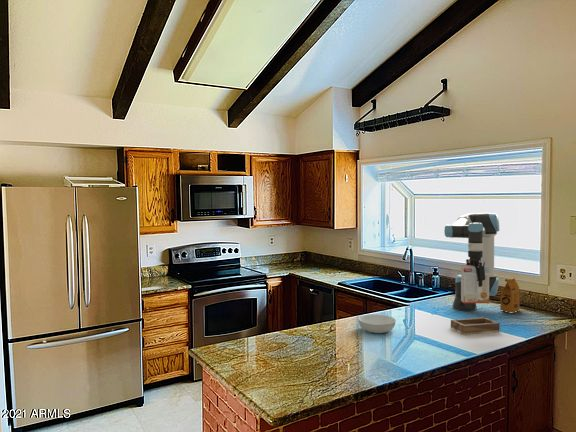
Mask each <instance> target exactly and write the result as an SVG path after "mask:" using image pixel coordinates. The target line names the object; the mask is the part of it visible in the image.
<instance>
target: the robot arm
mask: <svg viewBox="0 0 576 432" xmlns="http://www.w3.org/2000/svg"><path fill="white" fill-rule="evenodd" d="M498 232H500V221H499V217H498V215H497V213H492V212H470V213H467V214H464V215H460V216H459V217H457V219H456V221H455V222H454V223H453V224H445V226H444V232H443V233H444V236H445V237H446V238H452V239H454V238H458V239H460V238H461V239H468V241H467V242H468V245H467V247H468V251H467V256H468V259H467V258H466V260H465V263H466V264H465V265H472V266H474V267H475V269H476V273H477V278H478V280H477V292H482V281H483V280H485V269H484V265H486V266H489V296H492V297H493V296H496V295H497V293H498V289H499V284H500V278H499V277H497V275H498V274H496V273H495V236H496V235H498ZM478 266H479V267H478ZM454 282H455V283H454V284H455V297H454V299H453V303H452V309H454V310H457V309H458V310H457V311H462V310H464V311H463V312H471V310H474V311H476V310H477V303H463V302H462V301H461V273H460V274H457V275H456V276H455V281H454ZM475 309H476V310H475Z"/></svg>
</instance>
